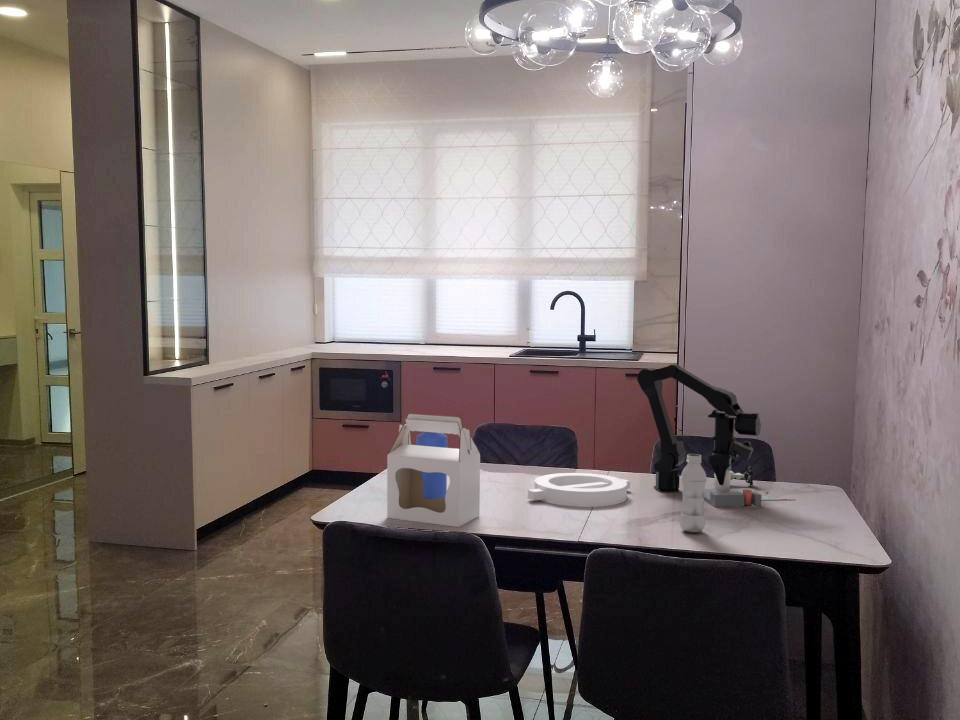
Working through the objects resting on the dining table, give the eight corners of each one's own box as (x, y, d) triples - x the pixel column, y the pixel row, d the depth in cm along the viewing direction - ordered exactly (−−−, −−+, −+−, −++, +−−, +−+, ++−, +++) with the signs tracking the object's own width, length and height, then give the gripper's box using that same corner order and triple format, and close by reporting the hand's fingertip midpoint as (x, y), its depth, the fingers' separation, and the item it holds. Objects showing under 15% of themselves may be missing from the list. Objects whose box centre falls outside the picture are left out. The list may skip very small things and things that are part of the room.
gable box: (385, 518, 230) (386, 415, 228) (409, 507, 242) (410, 410, 240) (459, 527, 220) (460, 421, 219) (480, 516, 232) (481, 415, 231)
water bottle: (409, 500, 250) (410, 416, 249) (426, 494, 258) (426, 413, 257) (436, 504, 246) (437, 419, 244) (452, 498, 254) (453, 415, 252)
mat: (756, 500, 255) (757, 499, 255) (744, 493, 265) (744, 492, 265) (795, 500, 256) (795, 499, 256) (781, 493, 266) (781, 492, 266)
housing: (714, 506, 246) (715, 495, 246) (692, 492, 265) (692, 481, 265) (761, 506, 247) (761, 494, 247) (735, 492, 267) (735, 481, 266)
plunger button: (744, 504, 247) (744, 491, 247) (740, 502, 250) (741, 489, 250) (753, 504, 248) (753, 491, 247) (749, 502, 250) (749, 489, 250)
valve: (715, 486, 275) (753, 488, 273) (715, 466, 274) (754, 468, 272) (713, 482, 281) (750, 484, 279) (713, 463, 281) (751, 464, 279)
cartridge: (729, 492, 256) (729, 466, 255) (713, 490, 258) (714, 464, 257) (731, 489, 260) (732, 463, 259) (716, 488, 262) (716, 462, 261)
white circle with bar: (525, 503, 250) (525, 487, 249) (544, 484, 276) (545, 470, 276) (620, 510, 242) (620, 494, 241) (631, 491, 268) (631, 476, 268)
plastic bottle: (700, 528, 222) (702, 453, 220) (708, 535, 215) (710, 457, 214) (676, 528, 221) (678, 452, 220) (683, 535, 215) (685, 457, 213)
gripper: (747, 439, 246) (745, 492, 247) (755, 431, 263) (754, 480, 264) (708, 436, 251) (707, 488, 252) (718, 428, 267) (717, 477, 268)
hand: (722, 483), depth 259 cm, fingers closed on cartridge, 4 cm apart
